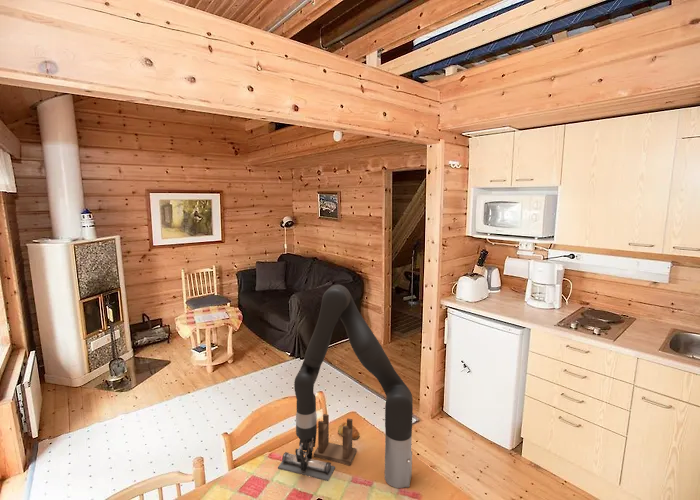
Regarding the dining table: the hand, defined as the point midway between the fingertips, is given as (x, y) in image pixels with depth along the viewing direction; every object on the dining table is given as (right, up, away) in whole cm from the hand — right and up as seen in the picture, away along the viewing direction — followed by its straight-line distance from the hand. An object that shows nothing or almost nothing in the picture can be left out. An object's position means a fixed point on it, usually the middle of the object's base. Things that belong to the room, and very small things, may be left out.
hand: (306, 465), depth 131 cm
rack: (+10, -1, +8) cm, 13 cm away
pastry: (+15, 0, +21) cm, 26 cm away
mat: (0, -1, 0) cm, 1 cm away
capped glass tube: (0, +1, 0) cm, 1 cm away
